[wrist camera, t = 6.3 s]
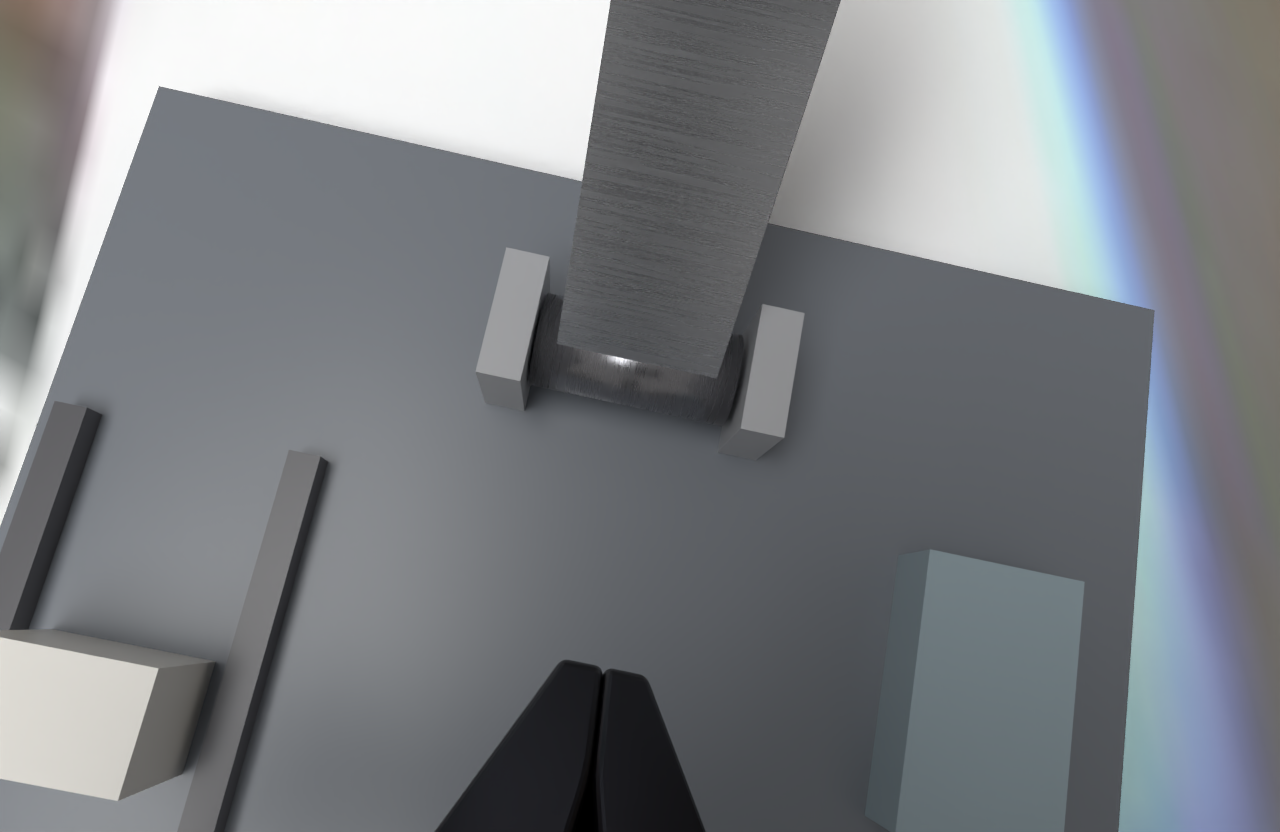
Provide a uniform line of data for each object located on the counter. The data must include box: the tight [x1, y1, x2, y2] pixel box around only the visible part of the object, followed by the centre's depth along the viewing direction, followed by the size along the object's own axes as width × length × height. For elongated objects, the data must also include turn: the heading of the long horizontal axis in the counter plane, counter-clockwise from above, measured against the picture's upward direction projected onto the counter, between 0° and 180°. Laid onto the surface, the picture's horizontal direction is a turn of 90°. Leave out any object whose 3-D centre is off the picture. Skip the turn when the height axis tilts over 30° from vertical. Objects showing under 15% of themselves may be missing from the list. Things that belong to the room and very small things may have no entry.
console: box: [0, 86, 1154, 832], centre depth 17 cm, size 24×22×4 cm
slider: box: [0, 629, 215, 801], centre depth 15 cm, size 2×3×2 cm, turn 78°
